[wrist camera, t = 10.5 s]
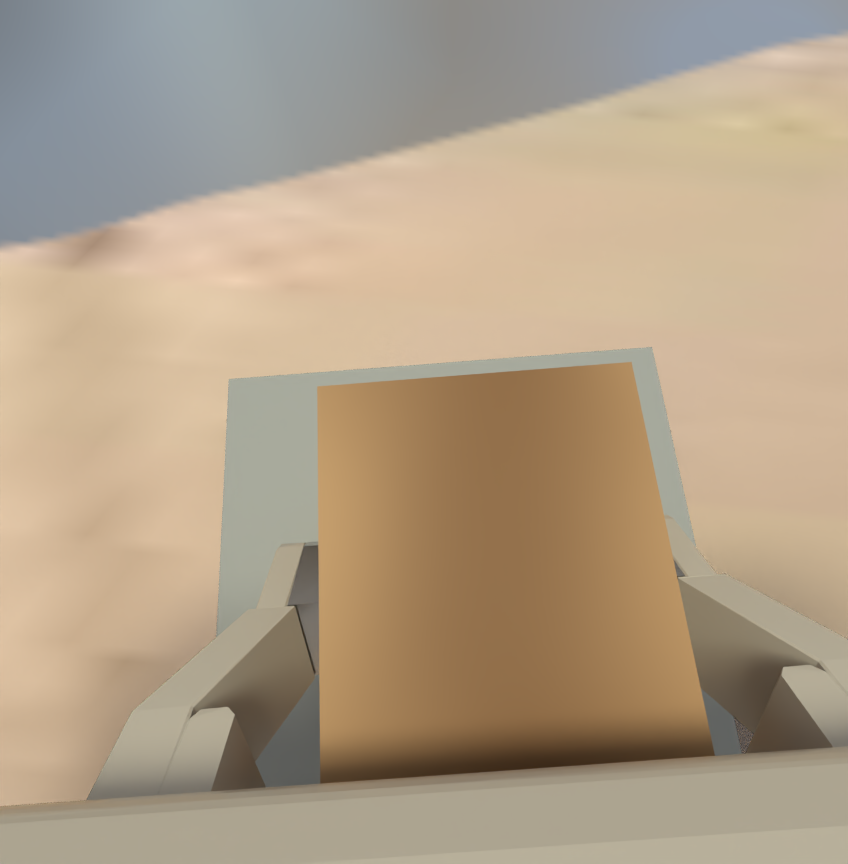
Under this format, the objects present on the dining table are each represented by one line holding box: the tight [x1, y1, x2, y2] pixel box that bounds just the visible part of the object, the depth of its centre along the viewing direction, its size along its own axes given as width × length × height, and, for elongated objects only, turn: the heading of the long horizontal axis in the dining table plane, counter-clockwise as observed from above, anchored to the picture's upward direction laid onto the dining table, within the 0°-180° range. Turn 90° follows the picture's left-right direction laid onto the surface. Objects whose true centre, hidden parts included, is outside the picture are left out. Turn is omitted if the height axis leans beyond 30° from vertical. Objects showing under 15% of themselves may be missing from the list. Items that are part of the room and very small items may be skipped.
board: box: [216, 347, 742, 787], centre depth 13 cm, size 14×24×2 cm, turn 4°
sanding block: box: [317, 362, 715, 784], centre depth 10 cm, size 4×6×8 cm
